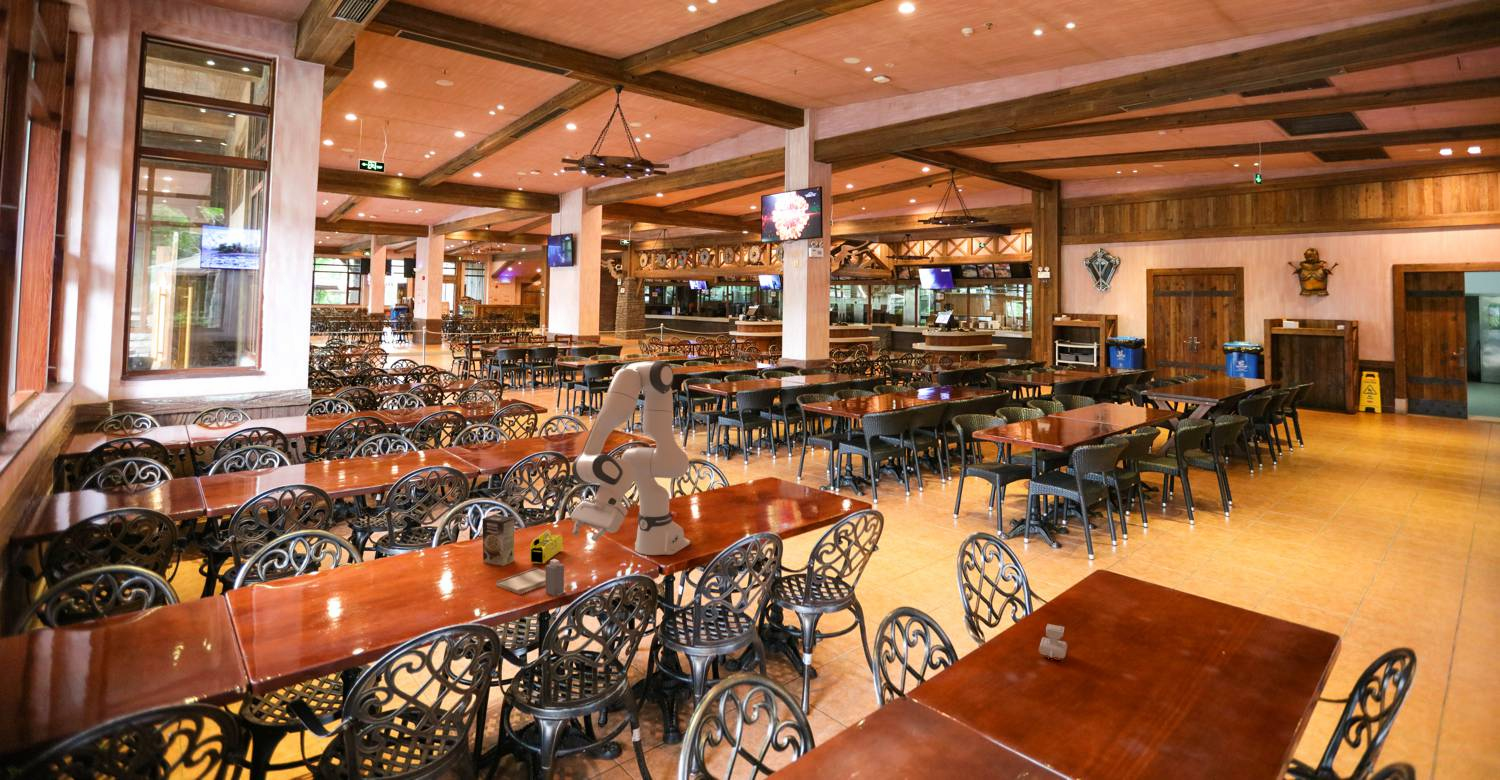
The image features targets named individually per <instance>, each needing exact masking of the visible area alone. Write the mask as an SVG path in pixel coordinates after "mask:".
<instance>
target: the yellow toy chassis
mask: <svg viewBox="0 0 1500 780" xmlns="http://www.w3.org/2000/svg"><path fill="white" fill-rule="evenodd" d="M563 543H564V542H563V535H562V534H551V531H550V529H547V530H545V531H544V532H543V533H542V534H539V535H538V536H537V537H535V538H534V539H533V540H532V541H531V543H530V546H529V547H530V548H529V561H530V562H529V563H530V564H531V563H533V564H536V565H537V564H539V565H541V564H543V565H544V564H545V563H547V561H550V560H551V558H553V559H554V556H557V554H558V553H559V552H561V551H562V550H563V549H564V548H563Z"/></svg>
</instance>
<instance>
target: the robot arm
mask: <svg viewBox="0 0 1500 780" xmlns="http://www.w3.org/2000/svg"><path fill="white" fill-rule="evenodd" d="M673 382H674V370H673V369H672V366H671V365H670V364H669V363H668V362H665V361H661V360H660V361H659V360H657V361H654V360H644V361H636V362H629V363H625V364H624V365H622V366H621V367H620V368H619V369H618V370H617V371H616V372H615V374H614V375H613V378H612V380H611V382H610V384H609V386H608V389H607V391H606V392H607V393H606V394H605V397H604V400H603V402H602V403H603V404H602V405H601V408H600V411H599V412H598V414H597V416H596V417H595V420H594V423H592V427H591V428H590V431H589V433H588V436H587V438H586V441H585V443H584V445H583V448H582V450H581V452H580V453H579V454H578V456H577V457H576V458H575V459H574V461H573V462H572V465H571V471H572V472H571V474H572V476H573V479H575V481H576V482H578V483H579V484H582V485H588V484H593V483H594V484H598V485H599V486H600V487H599V488H598V490H597V491H596V493H595V494H594V496H593V498H592V499H591V498H585V499H583V500H581V501H580V502H579V503H578V504H577V506H576V507H575V508H574V509H573V511H572V512H571V513H570V516H569V517H570V520H571V521H572V522H574V525H573V530H572V531H571V534H572V535H573V536H576V537H577V536H579V534H580V533H581V531H580V528H582V526H586V527H590V528H593V529H597V530H598V531H597V532H596V533H593V534H592V536H591V538H590V539H591V540H592V541H594V542H598V541H599V539H600V538H602V537H603V536H604V535H606V533H607V532H608V533H611V534H614V533H616V532H618V530H619V529H620V527H621V525H622V524H623V522H624V519H625V516H626V515H628V512H629V511H628V509H627V508H626V507H625V506H624V504H622V502H623V498H624V496H625V495H626V494H627V493H628V492H629V490H630V488H631V487H632V485H633V483H634V485H635V487H636V488H637V492H638V497H639V498H638V503H639V512H638V515H637V516H638V517H637V521H638V522H637V523H638V526H637V531H636V540H635V541H634V550H635V551H636V552H637V553H638V554H641V555H647V556H660V555H666V556H667V555H668V556H669V555H675V554H676V553H678V552H679V551H680V550H682V549H684V548H685V547H688V546H689V545H690V544H691V540H689V539H688V538H686V537H685V533H684V532H685V531H684V529H683V528H682V526H680V525H679V524H678V523H676V522H675V521H673V518H677V512H676V511H670V494H669V492H668V490H667V489H666V488H665V487H663V486H662V485H661V484H659V483H658V482H657V480H656V478H657V479H659V478H662V479H676V478H677V479H678V478H682V477H684V476H685V475H686V474H687V472H688V470H689V466H690V460H689V457H688V455H687V453H686V452H685V451H684V450H682V448H681V447H680V446H679V445H678V443H677V442H676V440H675V436H674V432H673V431H674V430H673V414H674V397H673V389H672V385H673ZM640 392H644V395H645V397H644V403H643V411H642V426H641V427H642V431H643V433H644V434H645V436H647V437H648V438H650V439H652V440H653V441H654V442H655V445H656V447H641V446H638V447H632V448H627V449H625V450H624V452H623V453H622V455H621V458H617V457H613V456H611V455H610V454H607V453H602V450H603V449H604V446H605V443H606V441H607V439H608V436H610V434H611V433H612V432H613V431H614V430H615V429H617V428H619V427H621V426H622V425H623V424H625V423H627V422H628V421H629V420H630V419H631V418H632V416H633V415H634V412H635V411H636V410H635V409H636V407H637V403H638V401H639V397H640V396H639V395H640ZM672 517H673V518H672Z"/></svg>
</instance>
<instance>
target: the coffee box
mask: <svg viewBox="0 0 1500 780" xmlns="http://www.w3.org/2000/svg"><path fill="white" fill-rule="evenodd" d="M482 559H483V560H482V562H483V563H485V564H491V565H496V566H502V567H504V566H507V565H509V564H511V563H512V562H514V561H515V517H511V516H506V515H499V514H493V515H492V514H491V515H488V516H486V517H484V518H482Z"/></svg>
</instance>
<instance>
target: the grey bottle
mask: <svg viewBox="0 0 1500 780" xmlns="http://www.w3.org/2000/svg"><path fill="white" fill-rule="evenodd" d="M544 566H545V570H544V571H546V585H545V594H547V593H548V594H547V595H550V594H551V596H553V597H555V596H557V595H560V594H563V593H565V578H564V577H565V572H564V571H565V565H564V564H562V563H560V560H558V559H556V558H553V559H549V564H546V565H544Z"/></svg>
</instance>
